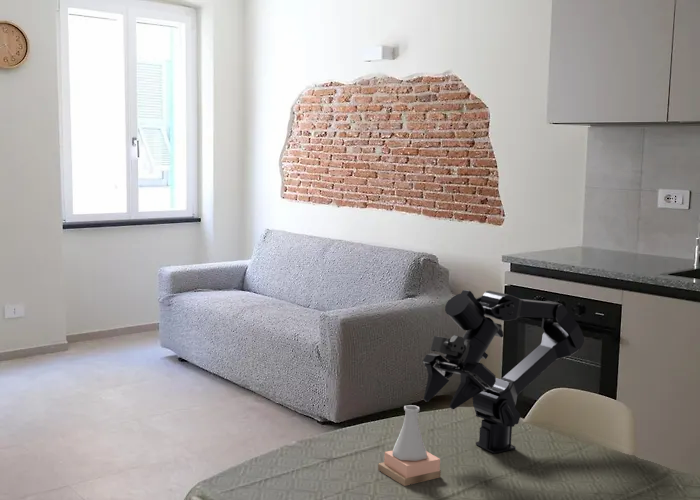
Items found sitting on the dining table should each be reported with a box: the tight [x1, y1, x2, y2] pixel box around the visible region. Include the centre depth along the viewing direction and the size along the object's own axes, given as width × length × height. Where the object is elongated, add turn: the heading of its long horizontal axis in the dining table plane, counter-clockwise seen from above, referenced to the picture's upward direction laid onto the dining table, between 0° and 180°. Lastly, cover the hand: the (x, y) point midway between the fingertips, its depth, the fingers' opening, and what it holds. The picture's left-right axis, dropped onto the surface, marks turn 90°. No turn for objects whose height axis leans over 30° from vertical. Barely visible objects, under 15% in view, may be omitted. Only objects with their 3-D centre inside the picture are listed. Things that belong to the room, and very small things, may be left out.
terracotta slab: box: [383, 449, 441, 478], centre depth 163 cm, size 8×8×2 cm
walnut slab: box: [377, 461, 442, 487], centre depth 163 cm, size 9×9×2 cm
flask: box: [392, 404, 427, 461], centre depth 162 cm, size 7×7×10 cm
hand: (438, 404), depth 167 cm, fingers open, 9 cm apart
